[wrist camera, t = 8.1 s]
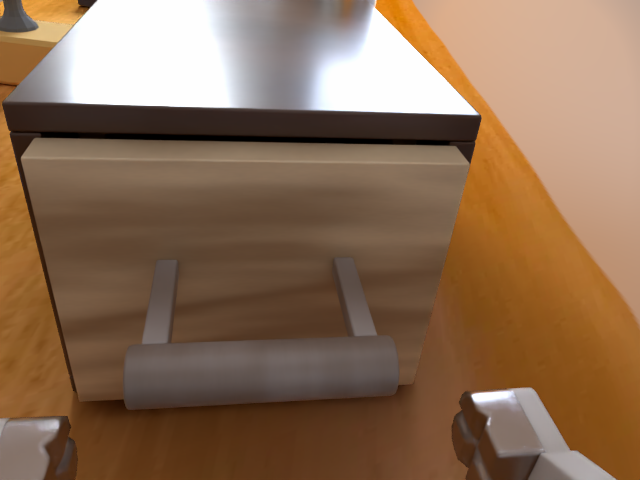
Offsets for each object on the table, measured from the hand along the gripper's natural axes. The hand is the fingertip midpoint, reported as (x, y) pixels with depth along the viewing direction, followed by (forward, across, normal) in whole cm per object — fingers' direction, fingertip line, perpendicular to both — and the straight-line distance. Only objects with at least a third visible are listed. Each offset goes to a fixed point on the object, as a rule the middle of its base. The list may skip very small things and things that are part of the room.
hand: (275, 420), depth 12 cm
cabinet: (+14, 0, +6) cm, 16 cm away
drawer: (+10, 0, +5) cm, 12 cm away
